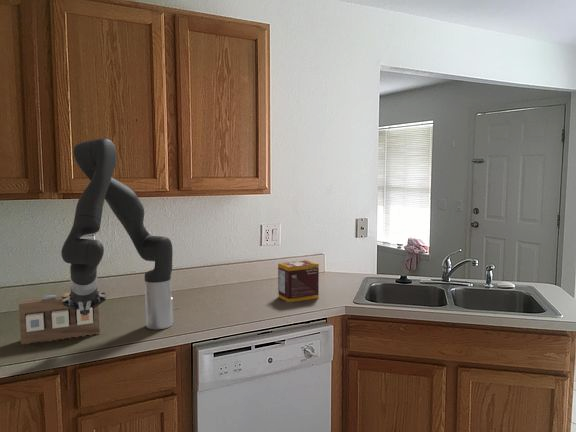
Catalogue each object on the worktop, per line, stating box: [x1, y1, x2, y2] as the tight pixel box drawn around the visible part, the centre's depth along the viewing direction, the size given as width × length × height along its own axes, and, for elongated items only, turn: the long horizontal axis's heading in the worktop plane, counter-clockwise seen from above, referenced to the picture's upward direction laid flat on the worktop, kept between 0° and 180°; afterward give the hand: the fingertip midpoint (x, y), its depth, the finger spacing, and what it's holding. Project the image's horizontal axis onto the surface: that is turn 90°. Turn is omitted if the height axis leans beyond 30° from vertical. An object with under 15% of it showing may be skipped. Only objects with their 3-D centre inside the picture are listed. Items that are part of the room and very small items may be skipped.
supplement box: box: [277, 259, 320, 303], centre depth 206 cm, size 10×15×16 cm
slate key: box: [26, 312, 45, 332], centre depth 153 cm, size 5×5×5 cm
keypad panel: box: [18, 292, 101, 345], centre depth 159 cm, size 6×24×15 cm, turn 115°
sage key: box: [52, 309, 69, 328], centre depth 156 cm, size 5×5×5 cm
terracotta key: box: [76, 307, 93, 325], centre depth 159 cm, size 5×5×5 cm
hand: (84, 312), depth 151 cm, fingers closed
